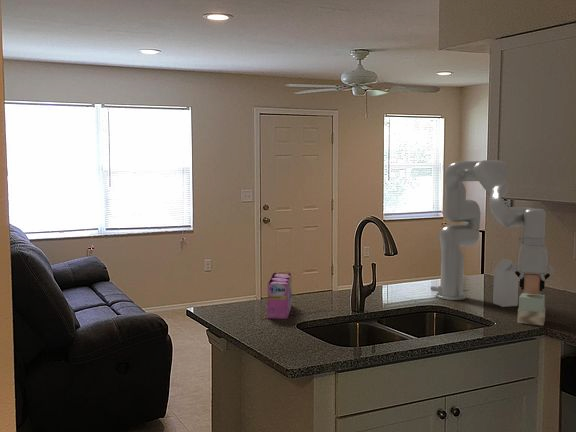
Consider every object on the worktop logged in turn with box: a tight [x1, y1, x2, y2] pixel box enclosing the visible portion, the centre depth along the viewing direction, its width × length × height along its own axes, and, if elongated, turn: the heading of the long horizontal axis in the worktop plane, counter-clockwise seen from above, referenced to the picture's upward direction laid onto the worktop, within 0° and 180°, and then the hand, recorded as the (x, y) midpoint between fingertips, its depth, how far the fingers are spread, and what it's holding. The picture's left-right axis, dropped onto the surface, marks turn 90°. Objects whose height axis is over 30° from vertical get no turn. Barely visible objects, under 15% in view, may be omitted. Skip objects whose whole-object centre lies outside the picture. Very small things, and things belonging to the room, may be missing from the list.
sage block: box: [518, 292, 546, 313], centre depth 246 cm, size 8×8×5 cm
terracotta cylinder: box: [522, 272, 541, 295], centre depth 245 cm, size 6×6×7 cm
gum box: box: [266, 272, 293, 320], centre depth 261 cm, size 24×8×14 cm, turn 176°
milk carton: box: [492, 257, 520, 308], centre depth 273 cm, size 7×7×19 cm
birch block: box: [516, 307, 546, 326], centre depth 246 cm, size 9×9×5 cm
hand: (531, 289), depth 246 cm, fingers closed on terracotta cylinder, 5 cm apart
